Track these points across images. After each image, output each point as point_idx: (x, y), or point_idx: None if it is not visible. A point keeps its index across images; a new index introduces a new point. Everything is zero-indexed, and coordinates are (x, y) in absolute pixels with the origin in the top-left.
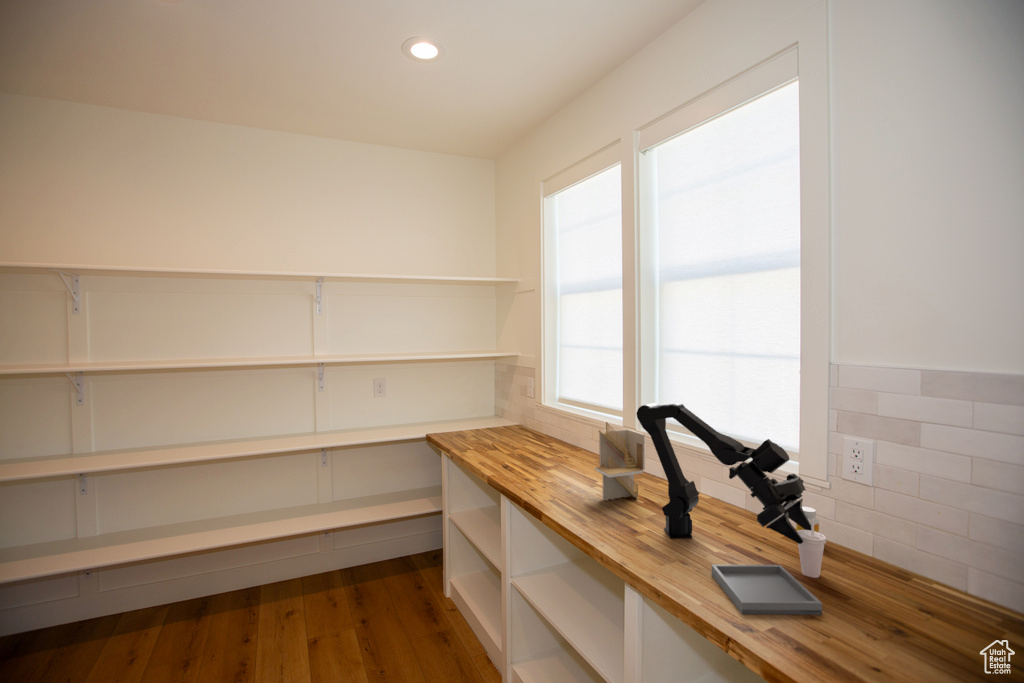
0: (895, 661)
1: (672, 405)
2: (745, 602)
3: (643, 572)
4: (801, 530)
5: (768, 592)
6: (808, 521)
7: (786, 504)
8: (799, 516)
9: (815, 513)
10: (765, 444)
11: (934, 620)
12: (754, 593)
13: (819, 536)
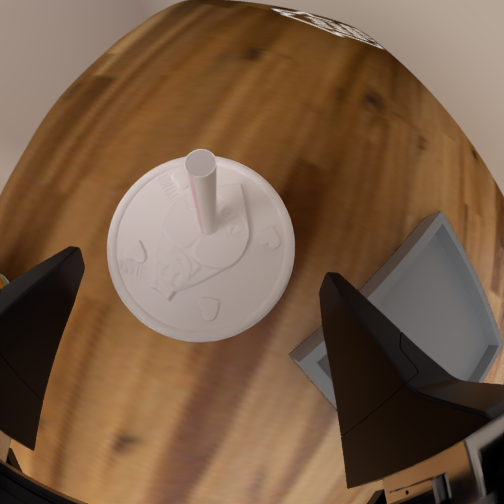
0: (447, 128)
1: None
2: (501, 340)
3: None
4: (145, 311)
5: (433, 336)
6: (33, 271)
7: (15, 478)
8: (21, 337)
9: None
10: None
11: (282, 50)
12: (449, 356)
13: (188, 190)
